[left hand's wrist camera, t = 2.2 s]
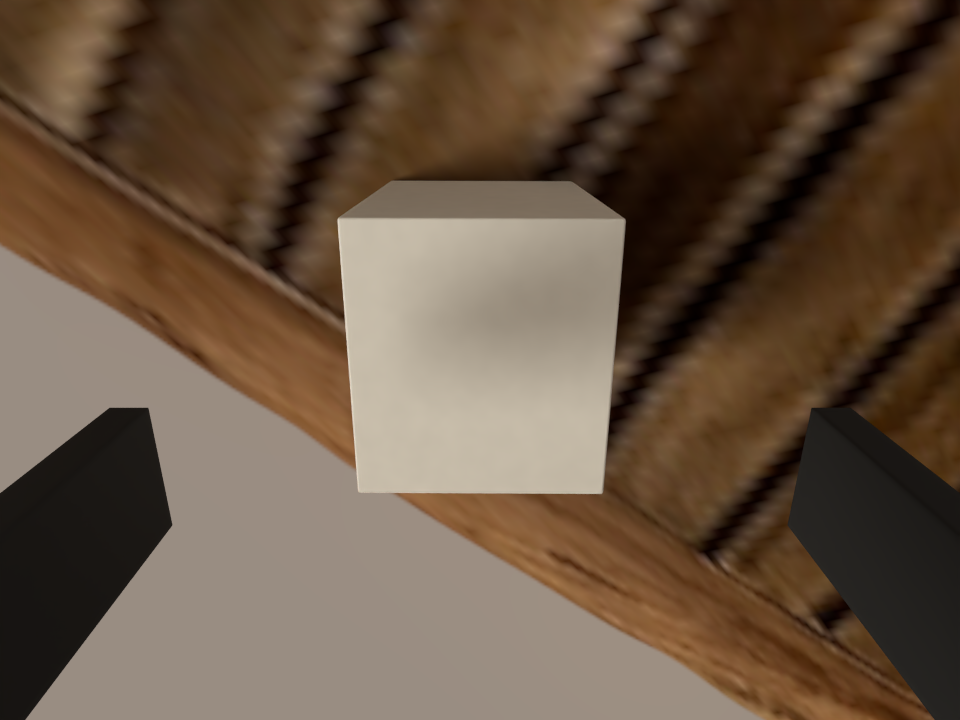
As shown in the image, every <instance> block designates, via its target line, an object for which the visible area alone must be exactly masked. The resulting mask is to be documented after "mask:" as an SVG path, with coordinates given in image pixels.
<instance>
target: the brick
mask: <svg viewBox="0 0 960 720" xmlns="http://www.w3.org/2000/svg"><path fill="white" fill-rule="evenodd" d="M625 225H626V220H625V219H624V218H623V217H621V216H620V215H619V214H617V213H616V212H614V211H613V210H612V209H610V208H609V207H607V206H606V205H604V204H603V203H602V202H600V201H599V200H597V199H596V198H594V197H593V196H592V195H590V194H589V193H587V192H586V191H585V190H583V189H582V188H580V187H579V186H577V185H576V184H575V183H573V182H571V181H391V182H389V183H388V184H387V185H385V186H384V187H382V188H381V189H379V190H378V191H376V192H375V193H374V194H372V195H371V196H369V197H368V198H366V199H365V200H364V201H362V202H361V203H359V204H358V205H356V206H355V207H353V208H352V209H351V210H349V211H348V212H346V213H345V214H343V215H342V216H340V217H339V218H338V233H339V246H340V259H341V272H342V286H343V299H344V312H345V325H346V338H347V352H348V365H349V378H350V391H351V404H352V417H353V431H354V444H355V457H356V470H357V483H358V491H359V492H360V493H548V494H602V493H603V487H604V475H605V463H606V451H607V440H608V428H609V416H610V404H611V392H612V380H613V368H614V356H615V344H616V332H617V320H618V308H619V296H620V285H621V273H622V261H623V249H624V237H625Z"/></svg>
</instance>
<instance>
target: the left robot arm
mask: <svg viewBox="0 0 960 720" xmlns="http://www.w3.org/2000/svg"><path fill="white" fill-rule="evenodd" d="M171 526H172V521H171V516H170V511H169V506H168V502H167V497H166V492H165V487H164V482H163V477H162V472H161V468H160V462H159V458H158V453H157V448H156V443H155V438H154V433H153V429H152V423H151V419H150V414H149V409H148V408H109V409H108V410H106V411H105V412H104V413H103V414H101V415H100V416H99V417H97V418H96V419H95V420H93V421H92V422H91V423H90V424H88V425H87V426H86V427H85V428H83V429H82V430H81V431H79V432H78V433H77V434H76V435H74V436H73V437H72V438H70V439H69V440H68V441H67V442H65V443H64V444H63V445H61V446H60V447H59V448H58V449H56V450H55V451H54V452H52V453H51V454H50V455H49V456H47V457H46V458H45V459H44V460H42V461H41V462H40V463H38V464H37V465H36V466H35V467H33V468H32V469H31V470H29V471H28V472H27V473H26V474H24V475H23V476H22V477H20V478H19V479H18V480H17V481H15V482H14V483H13V484H12V485H10V486H9V487H8V488H6V489H5V490H4V491H3V492H1V493H0V720H25V719H26V718H27V717H28V715H29V714H30V713H31V711H32V710H33V709H34V707H35V706H36V705H37V703H38V702H39V701H40V700H41V698H42V697H43V695H44V694H45V693H46V692H47V690H48V689H49V688H50V686H51V685H52V684H53V682H54V681H55V680H56V678H57V677H58V676H59V674H60V673H61V672H62V670H63V669H64V668H65V666H66V665H67V664H68V662H69V661H70V660H71V659H72V657H73V656H74V655H75V653H76V652H77V651H78V649H79V648H80V647H81V645H82V644H83V643H84V641H85V640H86V639H87V637H88V636H89V635H90V633H91V632H92V631H93V629H94V628H95V627H96V625H97V624H98V623H99V622H100V620H101V619H102V618H103V616H104V615H105V614H106V612H107V611H108V610H109V608H110V607H111V606H112V604H113V603H114V602H115V600H116V599H117V598H118V596H119V595H120V594H121V592H122V591H123V590H124V588H125V587H126V586H127V584H128V583H129V582H130V580H131V579H132V578H133V577H134V575H135V574H136V573H137V571H138V570H139V569H140V567H141V566H142V565H143V563H144V562H145V561H146V559H147V558H148V557H149V555H150V554H151V553H152V551H153V550H154V549H155V547H156V546H157V545H158V544H159V542H160V541H161V539H162V538H163V537H164V536H165V534H166V533H167V532H168V530H169V529H170V528H171ZM788 526H789V528H790V529H791V530H792V532H793V533H794V534H795V536H796V537H797V538H798V540H799V541H800V542H801V544H802V545H803V546H804V547H805V549H806V550H807V551H808V553H809V554H810V555H811V557H812V558H813V559H814V561H815V562H816V563H817V565H818V566H819V567H820V569H821V570H822V571H823V573H824V574H825V575H826V577H827V578H828V579H829V581H830V582H831V583H832V584H833V586H834V587H835V588H836V590H837V591H838V592H839V594H840V595H841V596H842V598H843V599H844V600H845V602H846V603H847V604H848V606H849V607H850V608H851V610H852V611H853V612H854V614H855V615H856V616H857V618H858V619H859V620H860V622H861V623H862V624H863V625H864V627H865V628H866V629H867V631H868V632H869V633H870V635H871V636H872V637H873V639H874V640H875V641H876V643H877V644H878V645H879V647H880V648H881V649H882V651H883V652H884V653H885V655H886V656H887V657H888V659H889V660H890V661H891V662H892V664H893V665H894V666H895V668H896V669H897V670H898V672H899V673H900V674H901V676H902V677H903V678H904V680H905V681H906V682H907V684H908V685H909V686H910V688H911V689H912V690H913V692H914V693H915V694H916V696H917V697H918V698H919V700H920V701H921V702H922V703H923V705H924V706H925V707H926V709H927V710H928V711H929V713H930V714H931V715H932V717H933V718H934V719H935V720H960V493H959V492H957V491H956V490H955V489H954V488H952V487H951V486H950V485H948V484H947V483H946V482H945V481H943V480H942V479H941V478H940V477H938V476H937V475H936V474H934V473H933V472H932V471H931V470H929V469H928V468H927V467H925V466H924V465H923V464H922V463H920V462H919V461H918V460H916V459H915V458H914V457H913V456H911V455H910V454H909V453H908V452H906V451H905V450H904V449H902V448H901V447H900V446H899V445H897V444H896V443H895V442H893V441H892V440H891V439H890V438H888V437H887V436H886V435H884V434H883V433H882V432H881V431H879V430H878V429H877V428H876V427H874V426H873V425H872V424H870V423H869V422H868V421H867V420H865V419H864V418H863V417H861V416H860V415H859V414H858V413H856V412H855V411H854V410H852V409H851V408H812V409H811V414H810V419H809V423H808V428H807V433H806V438H805V443H804V448H803V453H802V458H801V462H800V467H799V472H798V477H797V482H796V487H795V492H794V497H793V502H792V506H791V511H790V516H789V521H788Z"/></svg>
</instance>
